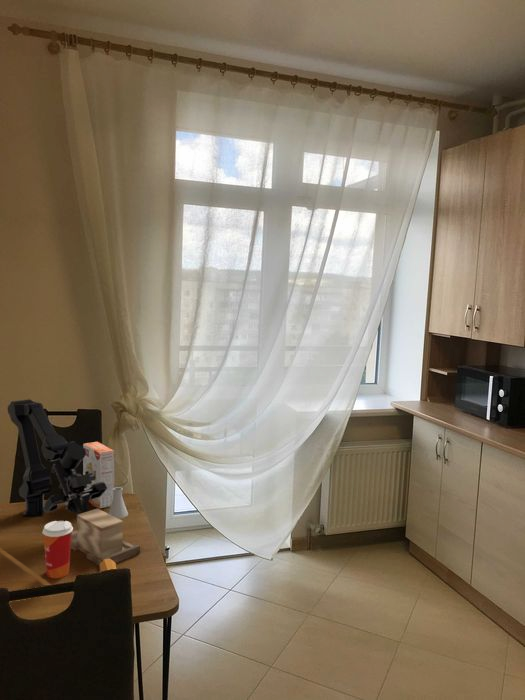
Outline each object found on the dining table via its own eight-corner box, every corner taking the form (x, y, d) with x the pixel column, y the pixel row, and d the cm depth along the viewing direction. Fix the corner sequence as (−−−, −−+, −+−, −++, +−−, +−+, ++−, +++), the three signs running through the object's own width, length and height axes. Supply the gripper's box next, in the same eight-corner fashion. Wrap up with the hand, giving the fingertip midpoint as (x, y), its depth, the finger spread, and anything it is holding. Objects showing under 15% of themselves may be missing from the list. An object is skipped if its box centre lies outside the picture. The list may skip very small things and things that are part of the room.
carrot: (101, 574, 153) (95, 561, 152) (117, 565, 155) (111, 552, 153) (116, 620, 136) (109, 606, 134) (133, 610, 137) (127, 596, 135)
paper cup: (47, 568, 153) (47, 519, 152) (76, 568, 154) (76, 519, 153) (38, 583, 146) (38, 531, 144) (68, 583, 146) (68, 531, 145)
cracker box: (82, 499, 204) (82, 443, 202) (97, 495, 208) (98, 440, 206) (98, 511, 193) (98, 452, 191) (114, 507, 197) (115, 449, 195)
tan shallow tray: (38, 545, 166) (38, 536, 166) (103, 523, 183) (103, 515, 183) (86, 577, 150) (86, 566, 149) (153, 550, 166) (153, 540, 166)
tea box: (76, 544, 167) (76, 514, 166) (97, 536, 172) (97, 508, 171) (101, 559, 158) (101, 528, 157) (122, 550, 163) (123, 521, 162)
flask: (122, 522, 185) (123, 493, 184) (102, 520, 186) (102, 491, 185) (132, 514, 192) (132, 486, 191) (112, 512, 193) (112, 484, 192)
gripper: (48, 469, 163) (68, 517, 157) (104, 457, 178) (124, 499, 172) (35, 488, 169) (54, 535, 163) (90, 475, 183) (109, 517, 177)
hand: (87, 520), depth 169 cm, fingers closed, pressing on tea box
